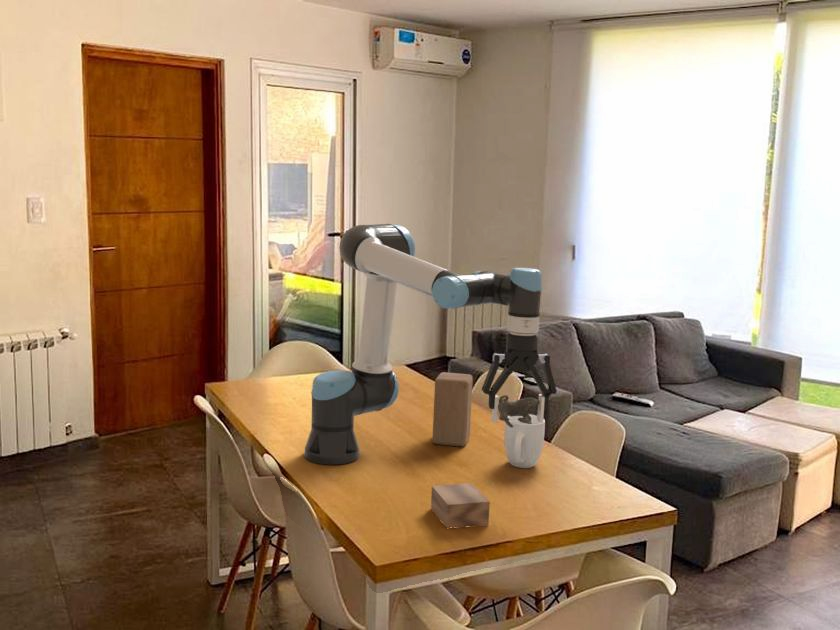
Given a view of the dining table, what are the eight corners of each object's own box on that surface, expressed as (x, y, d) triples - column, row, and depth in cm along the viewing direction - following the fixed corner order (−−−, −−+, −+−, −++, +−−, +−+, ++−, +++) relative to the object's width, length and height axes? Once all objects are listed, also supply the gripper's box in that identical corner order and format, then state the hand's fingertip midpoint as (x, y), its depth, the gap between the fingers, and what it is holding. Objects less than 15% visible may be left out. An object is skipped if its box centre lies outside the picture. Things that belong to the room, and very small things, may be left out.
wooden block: (465, 448, 250) (468, 381, 247) (431, 444, 252) (434, 378, 249) (470, 438, 260) (473, 373, 257) (437, 434, 262) (440, 371, 259)
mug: (536, 478, 227) (539, 430, 225) (495, 472, 231) (498, 425, 229) (545, 461, 242) (548, 416, 239) (507, 455, 245) (509, 411, 243)
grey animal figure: (505, 429, 204) (506, 398, 202) (491, 422, 209) (493, 392, 207) (545, 423, 209) (547, 393, 208) (532, 417, 214) (533, 388, 213)
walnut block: (446, 530, 192) (447, 504, 191) (430, 509, 204) (431, 485, 203) (488, 526, 195) (489, 501, 194) (470, 506, 207) (471, 483, 206)
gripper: (478, 335, 200) (473, 426, 203) (574, 336, 203) (567, 425, 207) (472, 329, 207) (467, 417, 211) (564, 330, 211) (558, 417, 214)
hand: (517, 421), depth 209 cm, fingers closed on grey animal figure, 11 cm apart
